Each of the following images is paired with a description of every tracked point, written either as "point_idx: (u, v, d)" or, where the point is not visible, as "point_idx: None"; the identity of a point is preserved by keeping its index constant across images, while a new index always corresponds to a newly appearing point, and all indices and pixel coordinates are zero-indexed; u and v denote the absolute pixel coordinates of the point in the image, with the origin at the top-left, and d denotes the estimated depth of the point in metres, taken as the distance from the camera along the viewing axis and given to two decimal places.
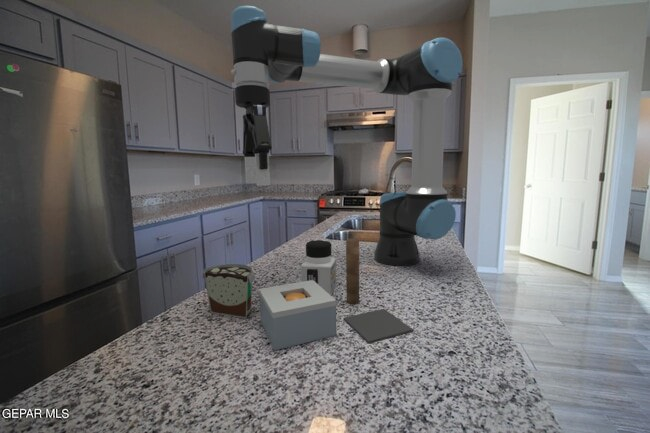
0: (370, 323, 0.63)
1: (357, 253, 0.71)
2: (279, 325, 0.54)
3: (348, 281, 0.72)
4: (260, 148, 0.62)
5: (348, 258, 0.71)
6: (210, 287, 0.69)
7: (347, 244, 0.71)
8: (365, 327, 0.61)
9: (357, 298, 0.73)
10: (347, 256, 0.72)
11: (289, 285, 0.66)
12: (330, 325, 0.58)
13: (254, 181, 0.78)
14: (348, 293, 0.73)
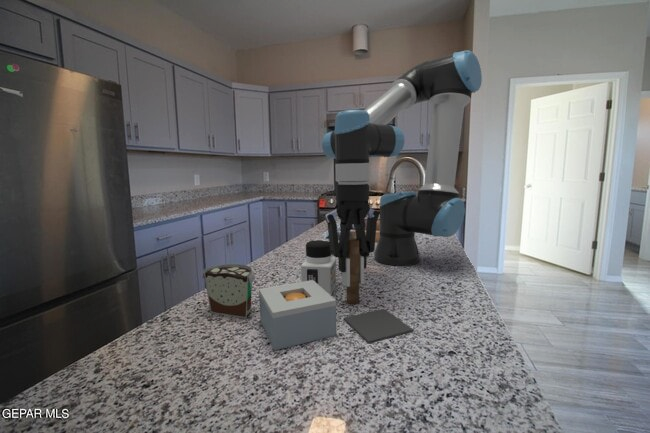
0: (370, 323, 0.63)
1: (357, 253, 0.71)
2: (279, 325, 0.54)
3: None
4: None
5: None
6: (210, 287, 0.69)
7: None
8: (365, 327, 0.61)
9: (357, 298, 0.73)
10: (347, 256, 0.72)
11: (289, 285, 0.66)
12: (330, 325, 0.58)
13: (359, 281, 0.73)
14: (348, 293, 0.73)
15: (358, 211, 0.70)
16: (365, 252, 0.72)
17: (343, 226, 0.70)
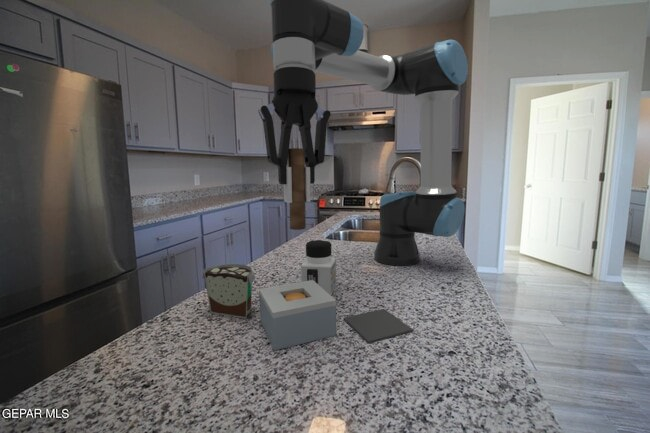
0: (370, 323, 0.63)
1: (301, 164, 0.57)
2: (279, 325, 0.54)
3: None
4: (269, 162, 0.57)
5: None
6: (210, 287, 0.69)
7: (289, 153, 0.57)
8: (365, 327, 0.61)
9: (302, 222, 0.59)
10: None
11: (289, 285, 0.66)
12: (330, 325, 0.58)
13: (305, 199, 0.59)
14: (291, 216, 0.59)
15: (301, 106, 0.56)
16: (312, 161, 0.58)
17: (283, 125, 0.56)
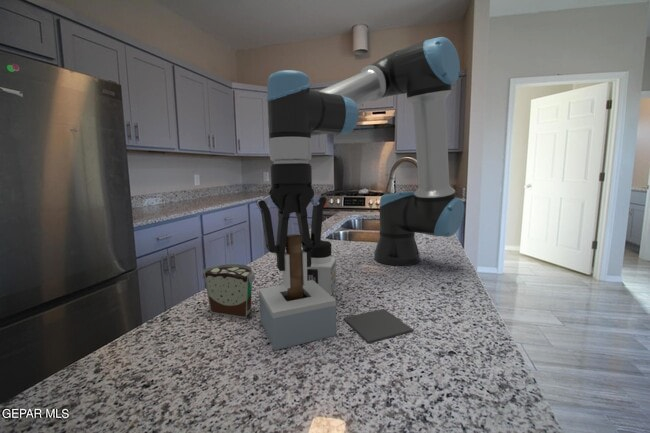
0: (370, 323, 0.63)
1: (298, 252, 0.59)
2: (279, 325, 0.54)
3: None
4: None
5: None
6: (210, 287, 0.69)
7: (286, 241, 0.59)
8: (365, 327, 0.61)
9: None
10: None
11: None
12: (330, 325, 0.58)
13: None
14: None
15: (298, 197, 0.57)
16: (308, 247, 0.60)
17: (281, 215, 0.58)
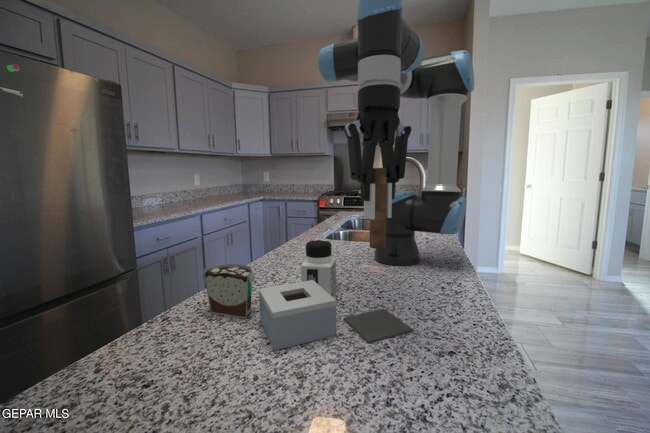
0: (370, 323, 0.63)
1: (384, 184, 0.57)
2: (279, 325, 0.54)
3: (372, 219, 0.58)
4: (352, 178, 0.57)
5: None
6: (210, 287, 0.69)
7: None
8: (365, 327, 0.61)
9: (383, 241, 0.59)
10: None
11: (289, 285, 0.66)
12: (330, 325, 0.58)
13: None
14: (372, 235, 0.59)
15: (386, 123, 0.56)
16: (393, 177, 0.58)
17: (367, 142, 0.56)
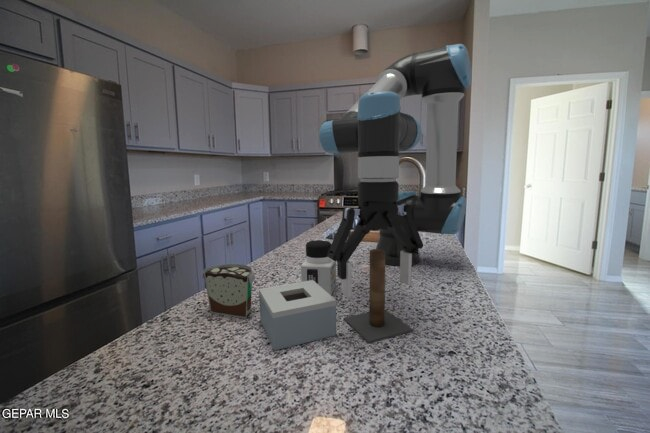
0: None
1: (383, 267, 0.60)
2: (279, 325, 0.54)
3: (371, 300, 0.61)
4: None
5: (372, 273, 0.60)
6: (210, 287, 0.69)
7: (371, 256, 0.60)
8: (365, 327, 0.61)
9: (382, 320, 0.61)
10: (371, 270, 0.60)
11: (289, 285, 0.66)
12: (330, 325, 0.58)
13: (405, 282, 0.63)
14: (372, 314, 0.61)
15: (385, 216, 0.58)
16: (413, 249, 0.62)
17: (360, 227, 0.58)
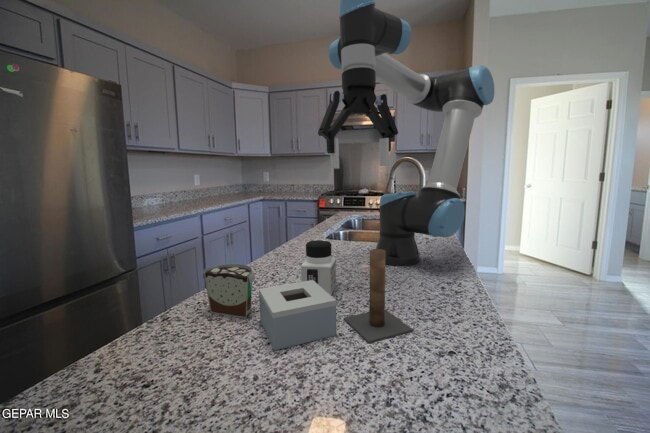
0: None
1: (383, 267, 0.60)
2: (279, 325, 0.54)
3: (371, 300, 0.61)
4: (319, 134, 0.68)
5: (372, 273, 0.60)
6: (210, 287, 0.69)
7: (371, 256, 0.60)
8: (365, 327, 0.61)
9: (382, 320, 0.61)
10: (371, 270, 0.60)
11: (289, 285, 0.66)
12: (330, 325, 0.58)
13: (384, 164, 0.75)
14: (372, 314, 0.61)
15: (365, 100, 0.70)
16: (389, 134, 0.74)
17: (345, 109, 0.69)
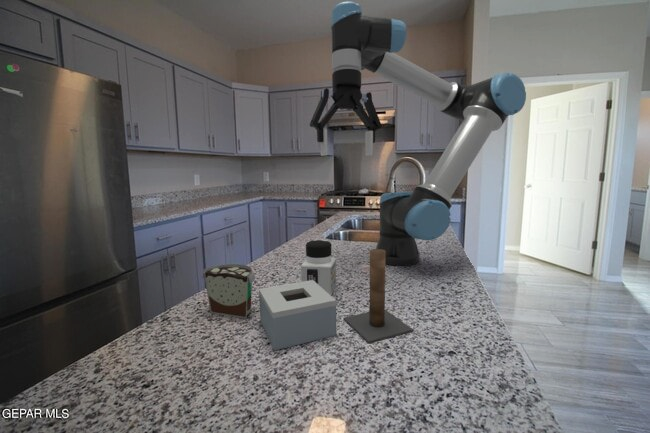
0: None
1: (383, 267, 0.60)
2: (279, 325, 0.54)
3: (371, 300, 0.61)
4: (310, 125, 0.80)
5: (372, 273, 0.60)
6: (210, 287, 0.69)
7: (371, 256, 0.60)
8: (365, 327, 0.61)
9: (382, 320, 0.61)
10: (371, 270, 0.60)
11: (289, 285, 0.66)
12: (330, 325, 0.58)
13: (369, 153, 0.86)
14: (372, 314, 0.61)
15: (351, 97, 0.80)
16: (373, 127, 0.84)
17: (333, 105, 0.80)
